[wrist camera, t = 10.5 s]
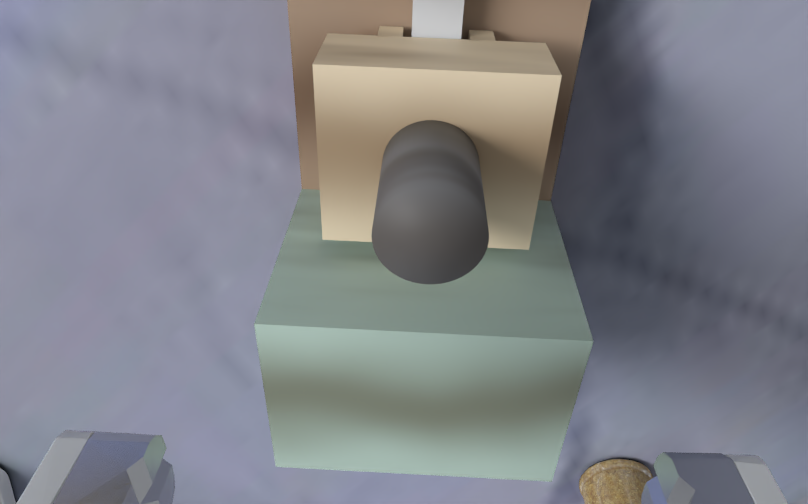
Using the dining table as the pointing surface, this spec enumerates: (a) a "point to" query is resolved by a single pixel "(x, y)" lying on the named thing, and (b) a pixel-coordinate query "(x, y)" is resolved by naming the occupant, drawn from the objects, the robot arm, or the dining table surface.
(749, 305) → the dining table surface
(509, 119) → the carriage
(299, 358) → the rail bed
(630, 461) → the sprinkles bottle
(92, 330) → the dining table surface
